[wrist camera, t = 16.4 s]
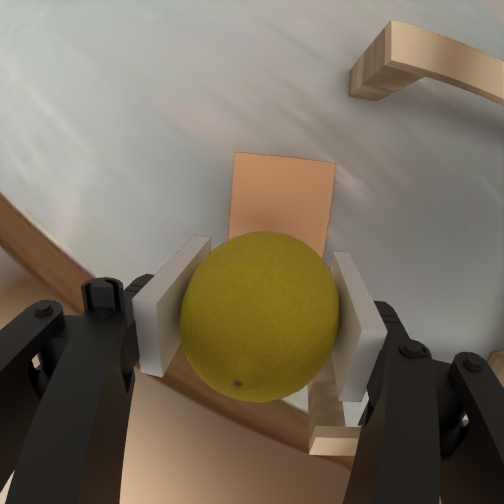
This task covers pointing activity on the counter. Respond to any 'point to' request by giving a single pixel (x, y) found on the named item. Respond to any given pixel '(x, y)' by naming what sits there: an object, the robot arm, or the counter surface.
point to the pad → (282, 197)
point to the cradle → (374, 88)
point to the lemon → (259, 317)
